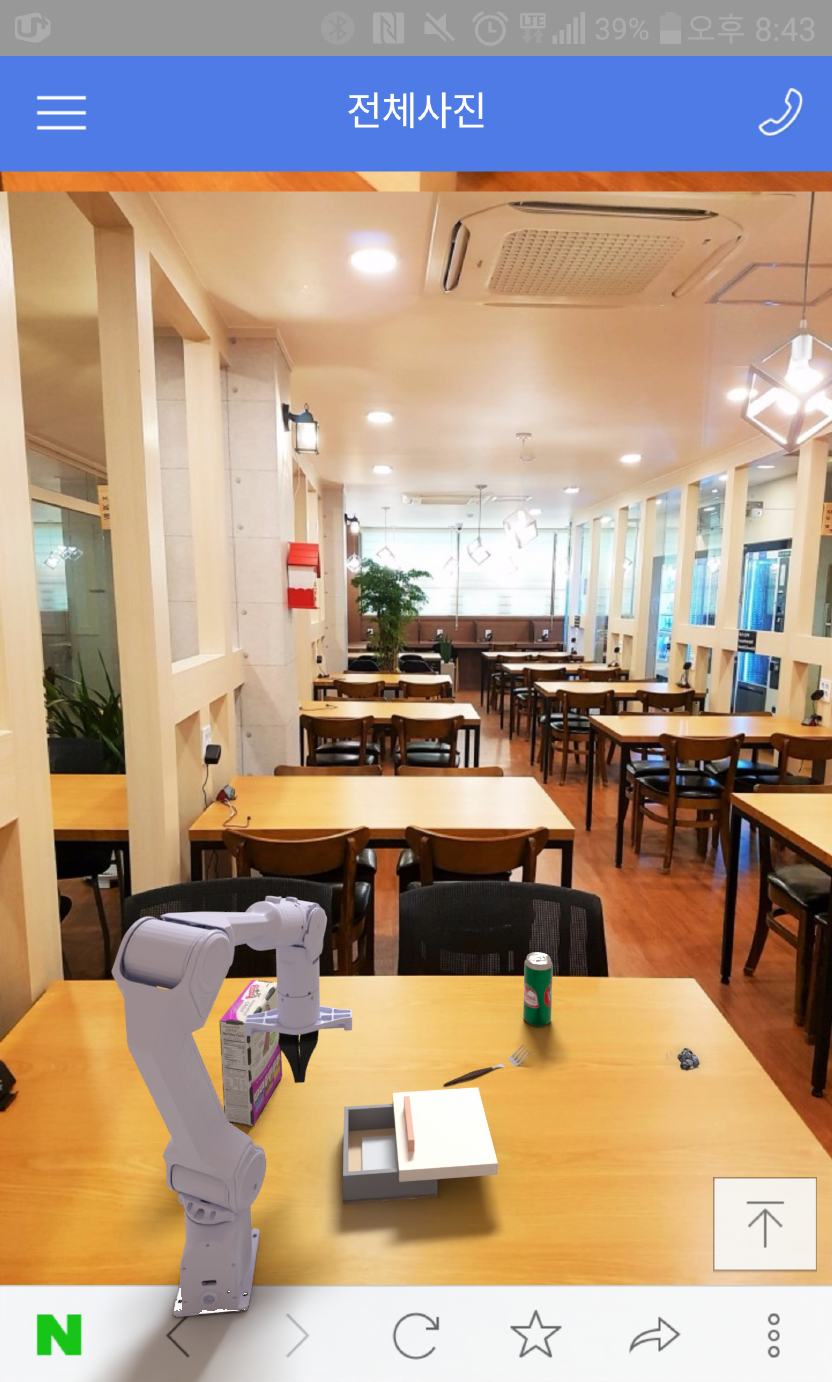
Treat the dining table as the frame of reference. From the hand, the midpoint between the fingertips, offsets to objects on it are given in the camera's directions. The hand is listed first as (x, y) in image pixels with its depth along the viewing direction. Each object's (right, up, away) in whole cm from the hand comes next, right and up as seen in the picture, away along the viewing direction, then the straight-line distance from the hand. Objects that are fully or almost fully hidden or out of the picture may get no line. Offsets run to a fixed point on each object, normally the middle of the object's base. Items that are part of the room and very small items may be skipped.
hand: (300, 1077), depth 95 cm
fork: (+28, -9, +17) cm, 34 cm away
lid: (+20, -7, -1) cm, 21 cm away
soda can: (+38, -7, +31) cm, 50 cm away
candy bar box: (-9, -9, +11) cm, 17 cm away
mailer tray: (+12, -11, -1) cm, 16 cm away
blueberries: (+61, -9, +20) cm, 65 cm away
